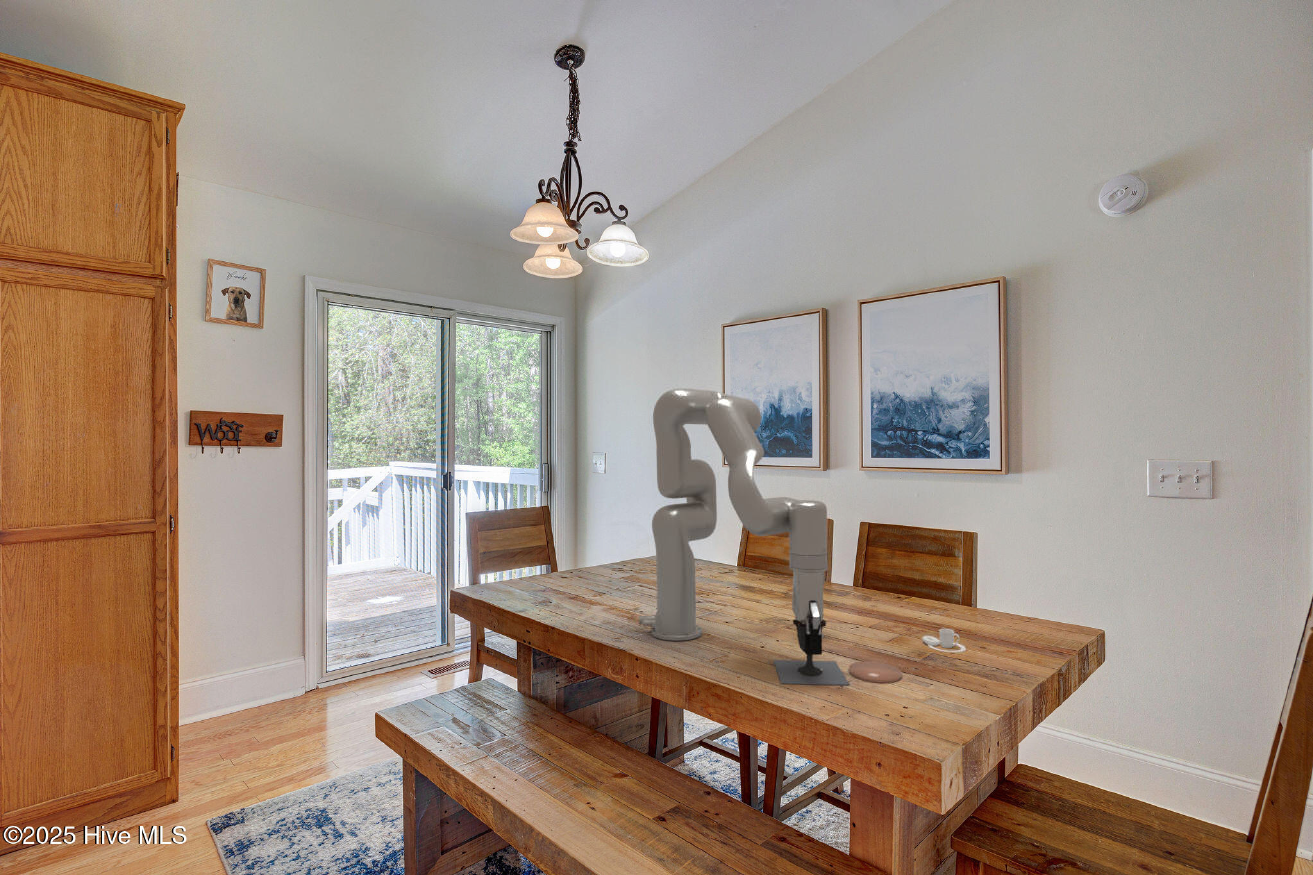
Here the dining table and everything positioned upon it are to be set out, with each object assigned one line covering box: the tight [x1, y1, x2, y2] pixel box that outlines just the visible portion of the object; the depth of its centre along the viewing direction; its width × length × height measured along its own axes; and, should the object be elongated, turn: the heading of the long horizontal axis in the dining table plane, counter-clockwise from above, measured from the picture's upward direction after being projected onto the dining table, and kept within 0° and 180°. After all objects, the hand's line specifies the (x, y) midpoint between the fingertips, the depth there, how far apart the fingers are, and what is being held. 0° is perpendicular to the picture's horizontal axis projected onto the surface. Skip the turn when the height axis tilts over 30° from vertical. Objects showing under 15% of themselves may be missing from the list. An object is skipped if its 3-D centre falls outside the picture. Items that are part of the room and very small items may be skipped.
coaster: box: [848, 660, 903, 684], centre depth 128 cm, size 10×10×1 cm
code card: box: [773, 659, 851, 686], centre depth 129 cm, size 13×13×1 cm
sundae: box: [792, 607, 827, 676], centre depth 129 cm, size 7×7×15 cm
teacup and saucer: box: [922, 628, 967, 653], centre depth 145 cm, size 9×8×4 cm
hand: (809, 646), depth 129 cm, fingers open, 9 cm apart
